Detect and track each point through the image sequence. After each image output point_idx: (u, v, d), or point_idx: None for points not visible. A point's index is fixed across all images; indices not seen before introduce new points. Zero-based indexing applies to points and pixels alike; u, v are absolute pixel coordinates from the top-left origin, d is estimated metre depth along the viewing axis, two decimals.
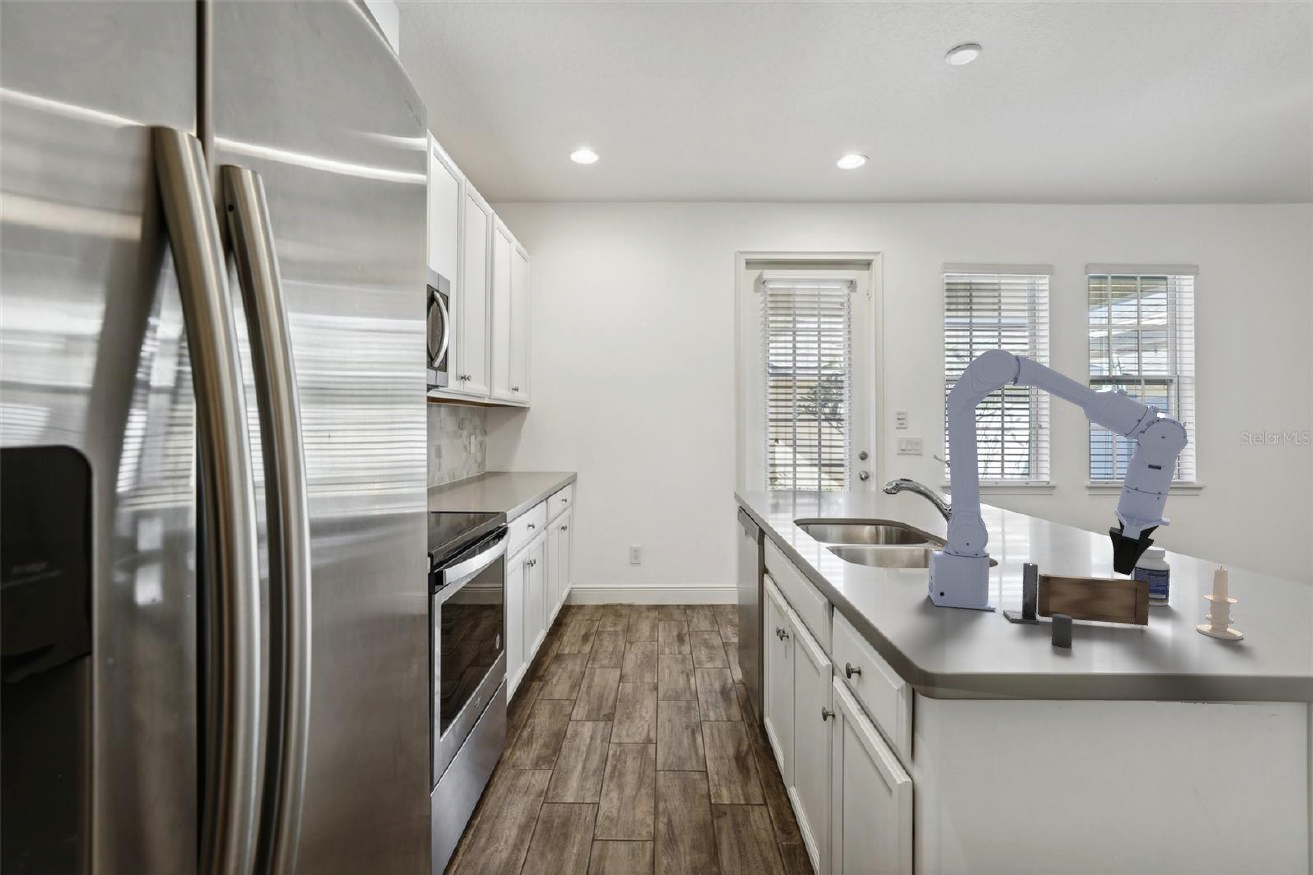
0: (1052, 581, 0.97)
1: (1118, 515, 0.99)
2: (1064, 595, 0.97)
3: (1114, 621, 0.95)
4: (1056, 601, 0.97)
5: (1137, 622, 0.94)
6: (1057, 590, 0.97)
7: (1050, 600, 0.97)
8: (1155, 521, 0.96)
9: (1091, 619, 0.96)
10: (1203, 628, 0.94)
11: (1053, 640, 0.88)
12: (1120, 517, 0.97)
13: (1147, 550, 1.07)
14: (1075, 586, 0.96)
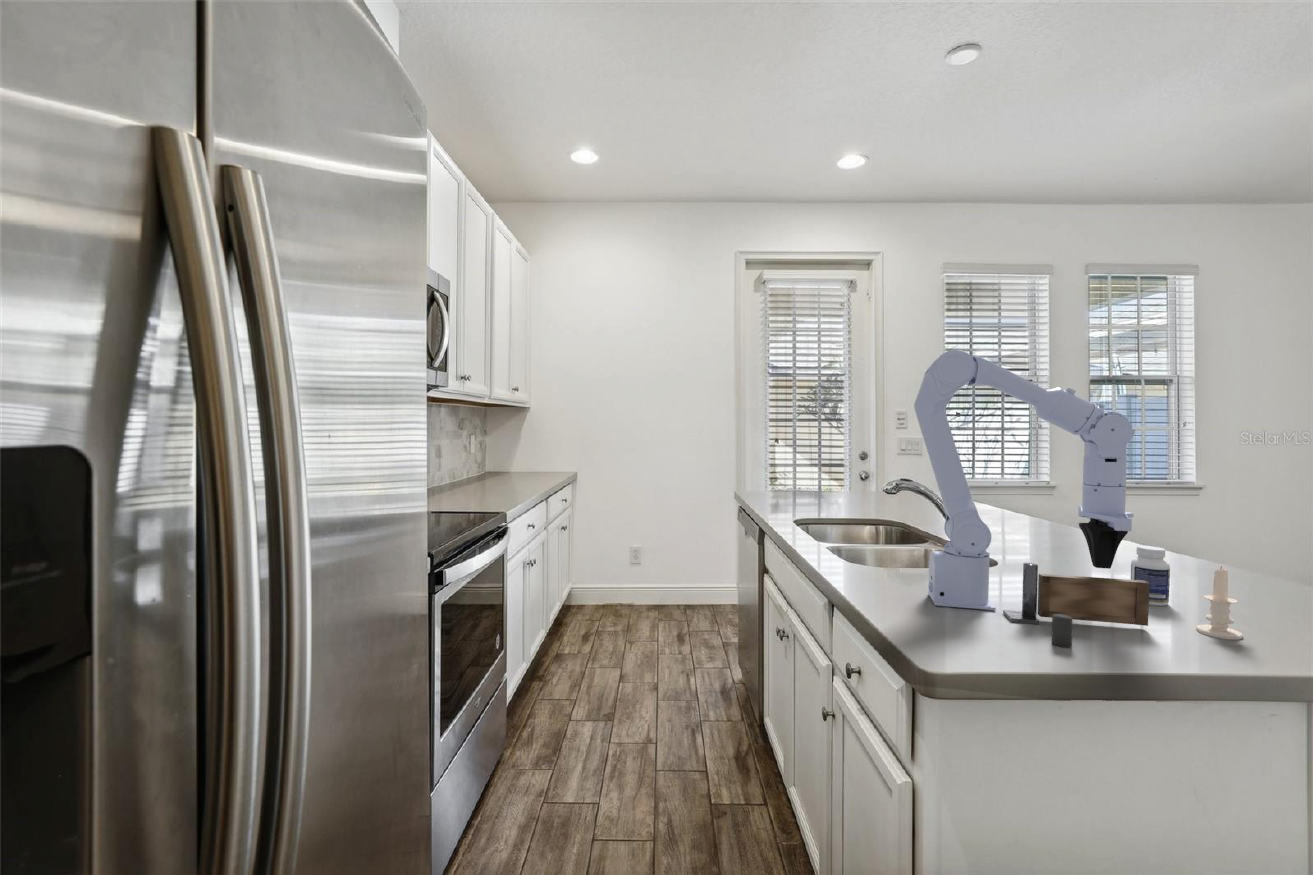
0: (1052, 581, 0.97)
1: (1092, 515, 0.99)
2: (1064, 595, 0.97)
3: (1114, 621, 0.95)
4: (1056, 601, 0.97)
5: (1137, 622, 0.94)
6: (1057, 590, 0.97)
7: (1050, 600, 0.97)
8: (1125, 514, 0.98)
9: (1091, 619, 0.96)
10: (1203, 628, 0.94)
11: (1053, 640, 0.88)
12: (1099, 516, 0.97)
13: (1147, 550, 1.07)
14: (1075, 586, 0.96)
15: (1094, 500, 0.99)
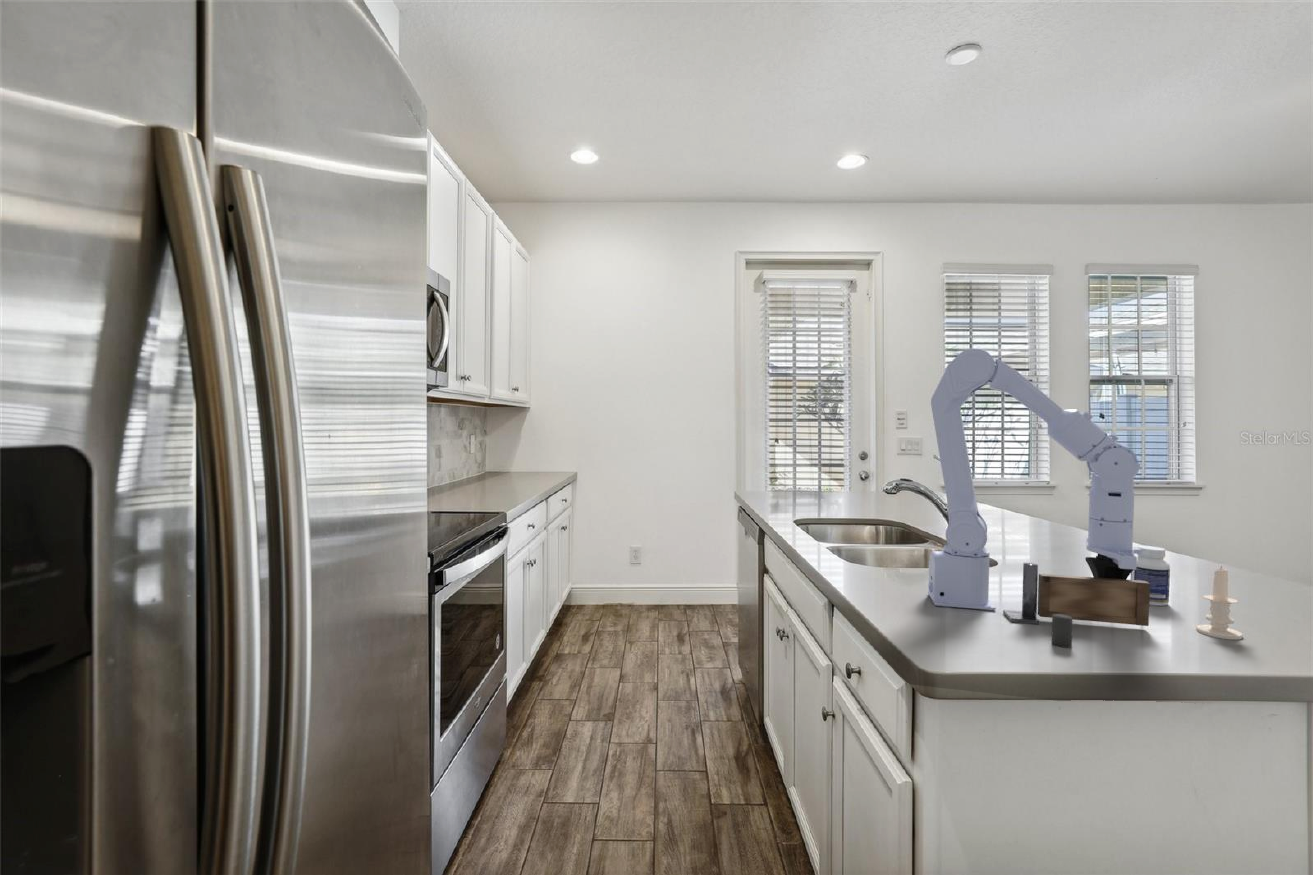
0: (1052, 581, 0.97)
1: (1097, 551, 0.96)
2: (1064, 595, 0.97)
3: (1114, 621, 0.95)
4: (1056, 601, 0.97)
5: (1138, 622, 0.94)
6: (1057, 590, 0.97)
7: (1050, 600, 0.97)
8: (1132, 550, 0.95)
9: (1091, 619, 0.96)
10: (1203, 628, 0.94)
11: (1053, 640, 0.88)
12: (1103, 551, 0.95)
13: (1147, 550, 1.07)
14: (1075, 586, 0.96)
15: (1099, 535, 0.96)
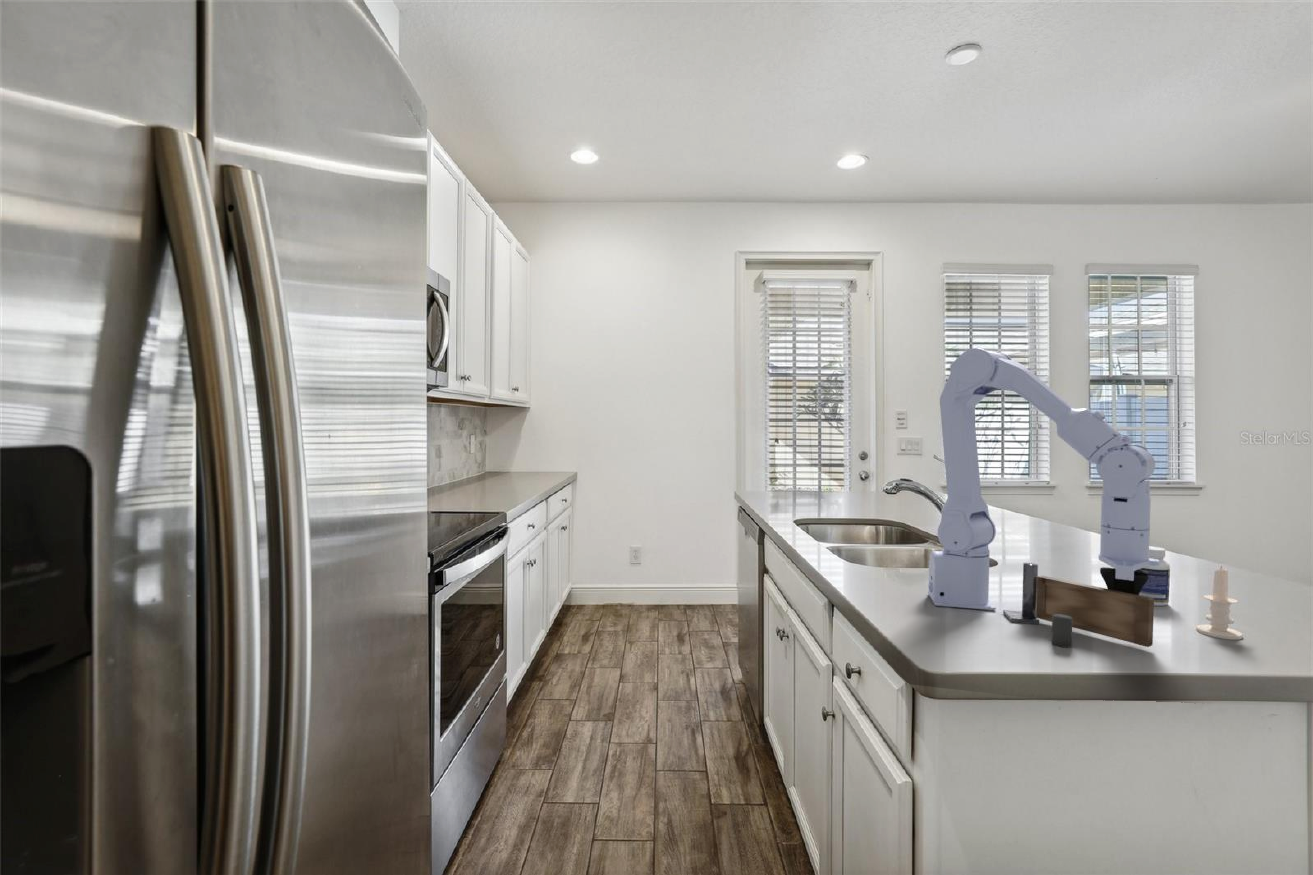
0: (1048, 583, 0.96)
1: (1103, 560, 0.90)
2: (1060, 600, 0.94)
3: (1111, 635, 0.89)
4: (1053, 605, 0.95)
5: (1136, 641, 0.86)
6: (1054, 594, 0.95)
7: (1046, 603, 0.96)
8: (1144, 561, 0.87)
9: (1086, 629, 0.91)
10: (1203, 628, 0.94)
11: (1053, 640, 0.88)
12: (1107, 561, 0.88)
13: None
14: (1071, 592, 0.93)
15: (1107, 543, 0.90)
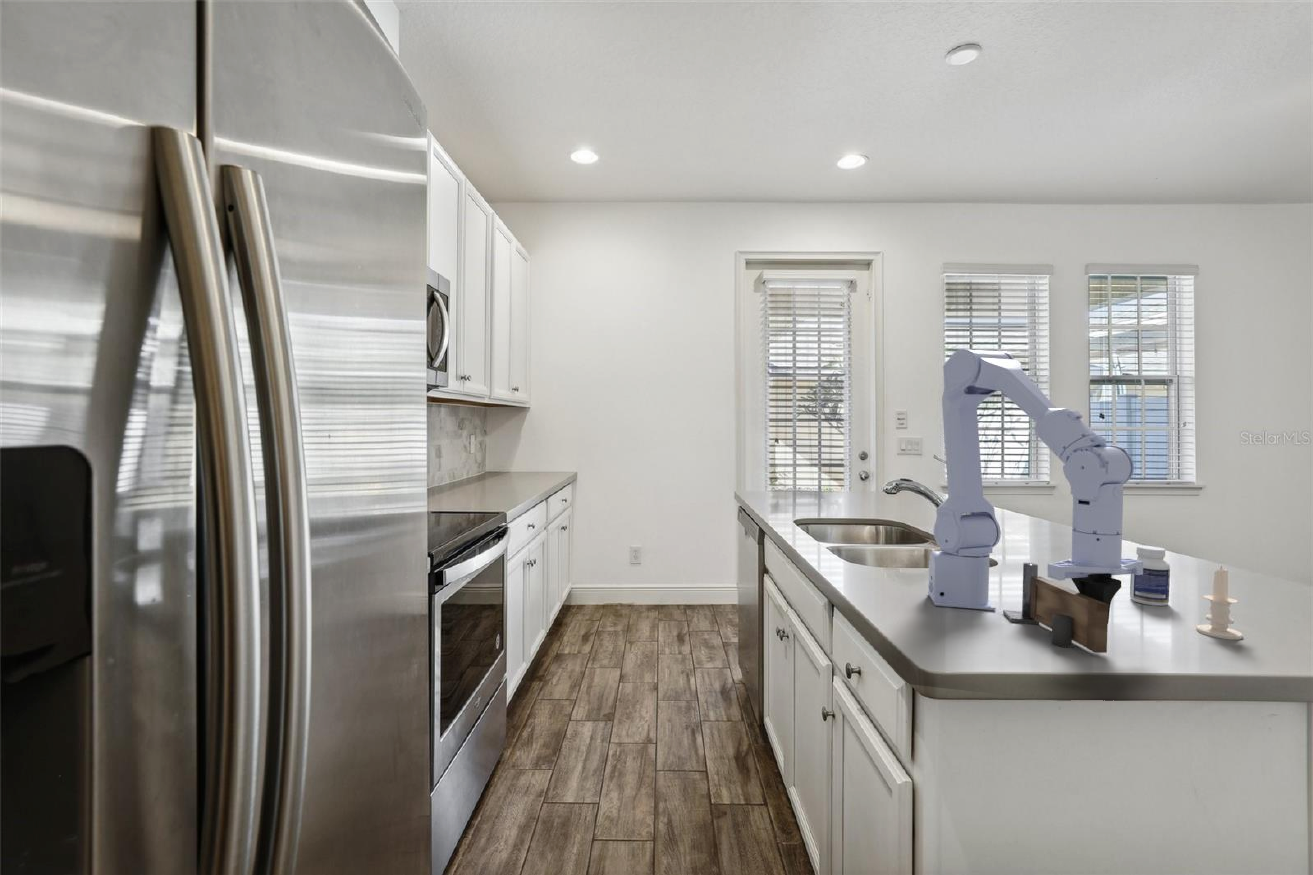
0: (1037, 583, 0.96)
1: (1067, 562, 0.88)
2: (1045, 600, 0.94)
3: (1073, 639, 0.87)
4: (1040, 605, 0.95)
5: (1087, 646, 0.84)
6: (1041, 594, 0.95)
7: (1036, 603, 0.96)
8: (1099, 567, 0.84)
9: None
10: (1203, 628, 0.94)
11: (1053, 640, 0.88)
12: (1063, 562, 0.87)
13: (1147, 550, 1.07)
14: (1051, 593, 0.92)
15: (1072, 545, 0.88)
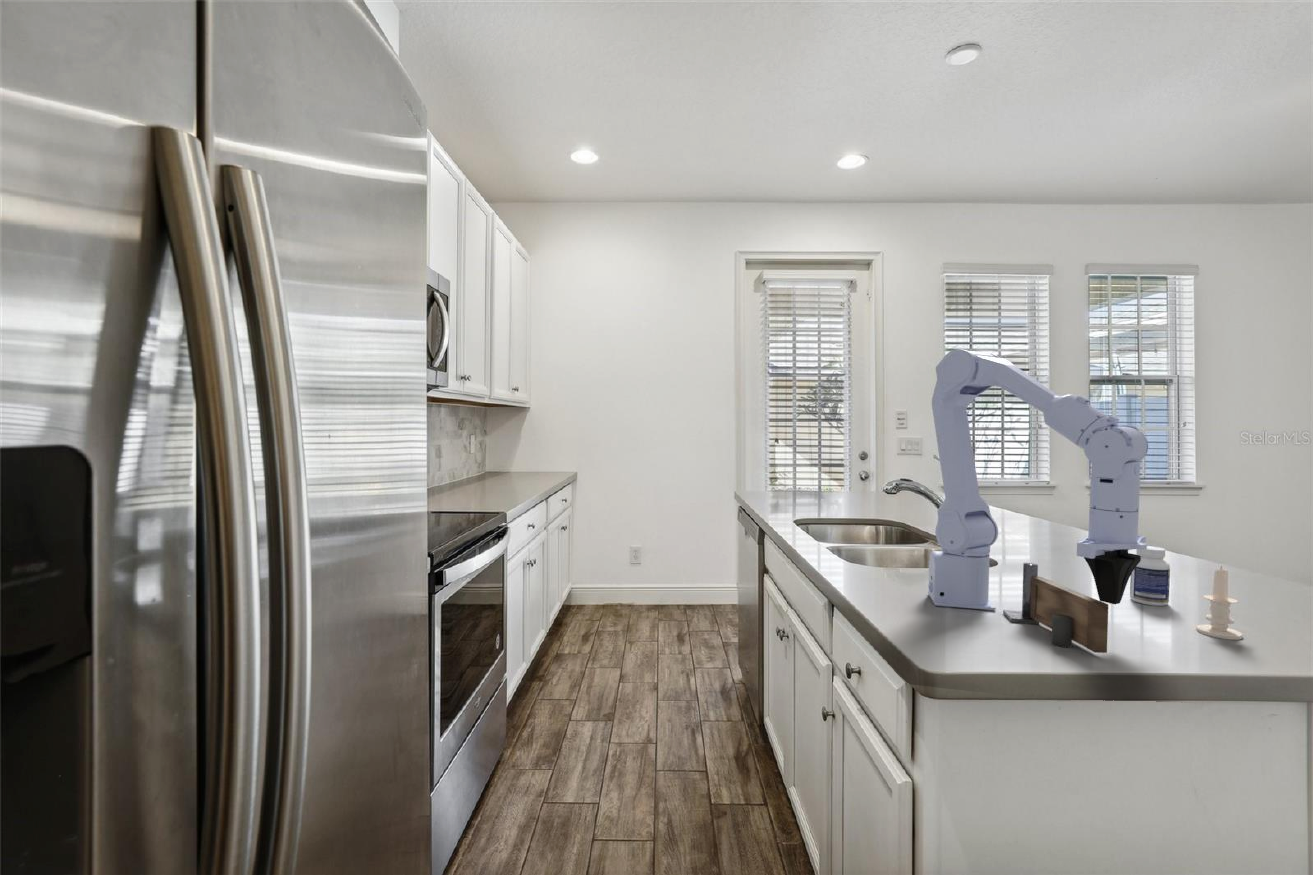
0: (1037, 583, 0.96)
1: None
2: (1045, 600, 0.94)
3: (1073, 639, 0.87)
4: (1040, 605, 0.95)
5: (1087, 646, 0.84)
6: (1041, 594, 0.95)
7: (1036, 603, 0.96)
8: (1123, 543, 0.86)
9: None
10: (1203, 628, 0.94)
11: (1053, 640, 0.88)
12: None
13: (1147, 550, 1.07)
14: (1051, 593, 0.92)
15: (1090, 524, 0.89)
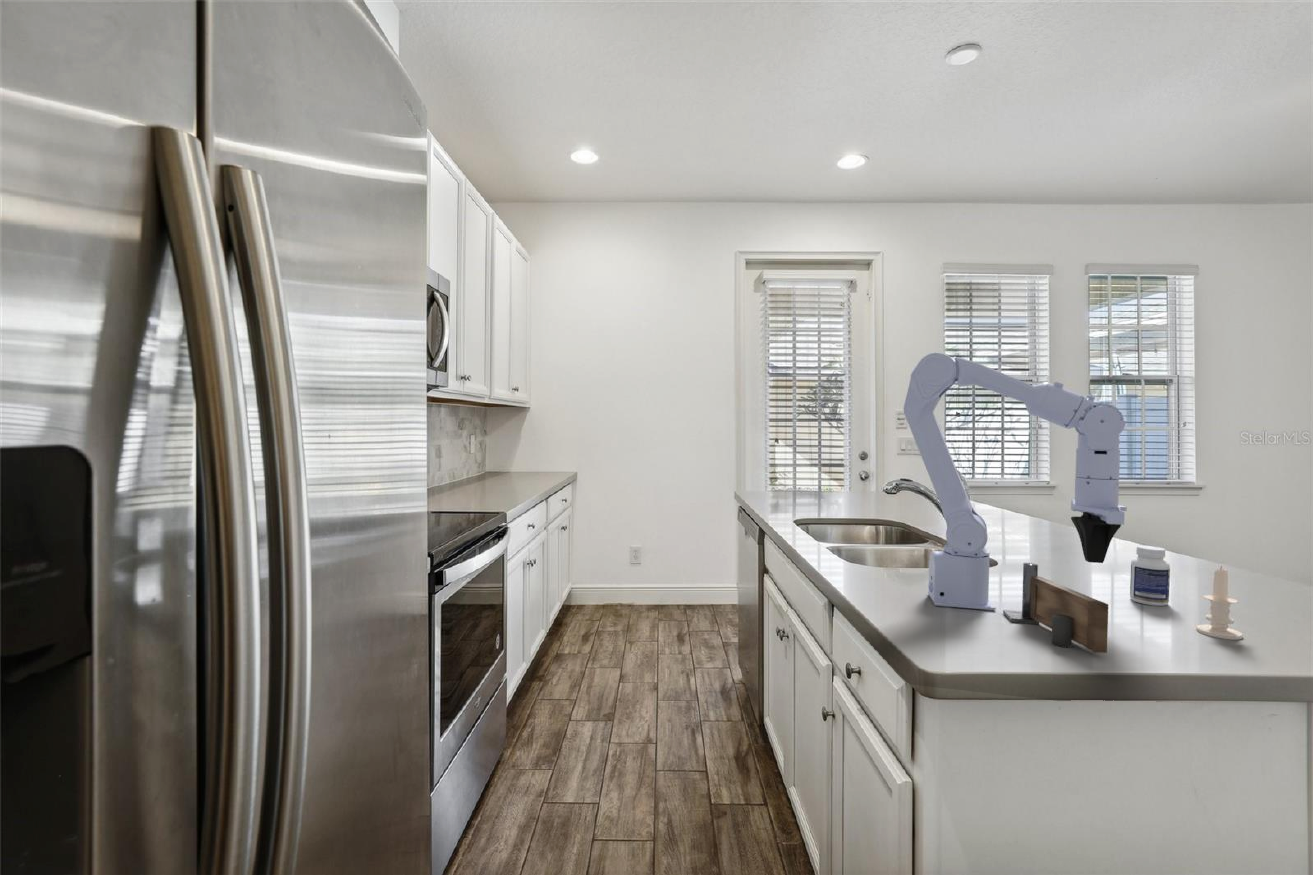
0: (1037, 583, 0.96)
1: (1085, 509, 0.97)
2: (1045, 600, 0.94)
3: (1073, 639, 0.87)
4: (1040, 605, 0.95)
5: (1087, 646, 0.84)
6: (1041, 594, 0.95)
7: (1036, 603, 0.96)
8: (1118, 507, 0.96)
9: None
10: (1203, 628, 0.94)
11: (1053, 640, 0.88)
12: (1091, 509, 0.96)
13: (1147, 550, 1.07)
14: (1051, 593, 0.92)
15: (1086, 493, 0.97)
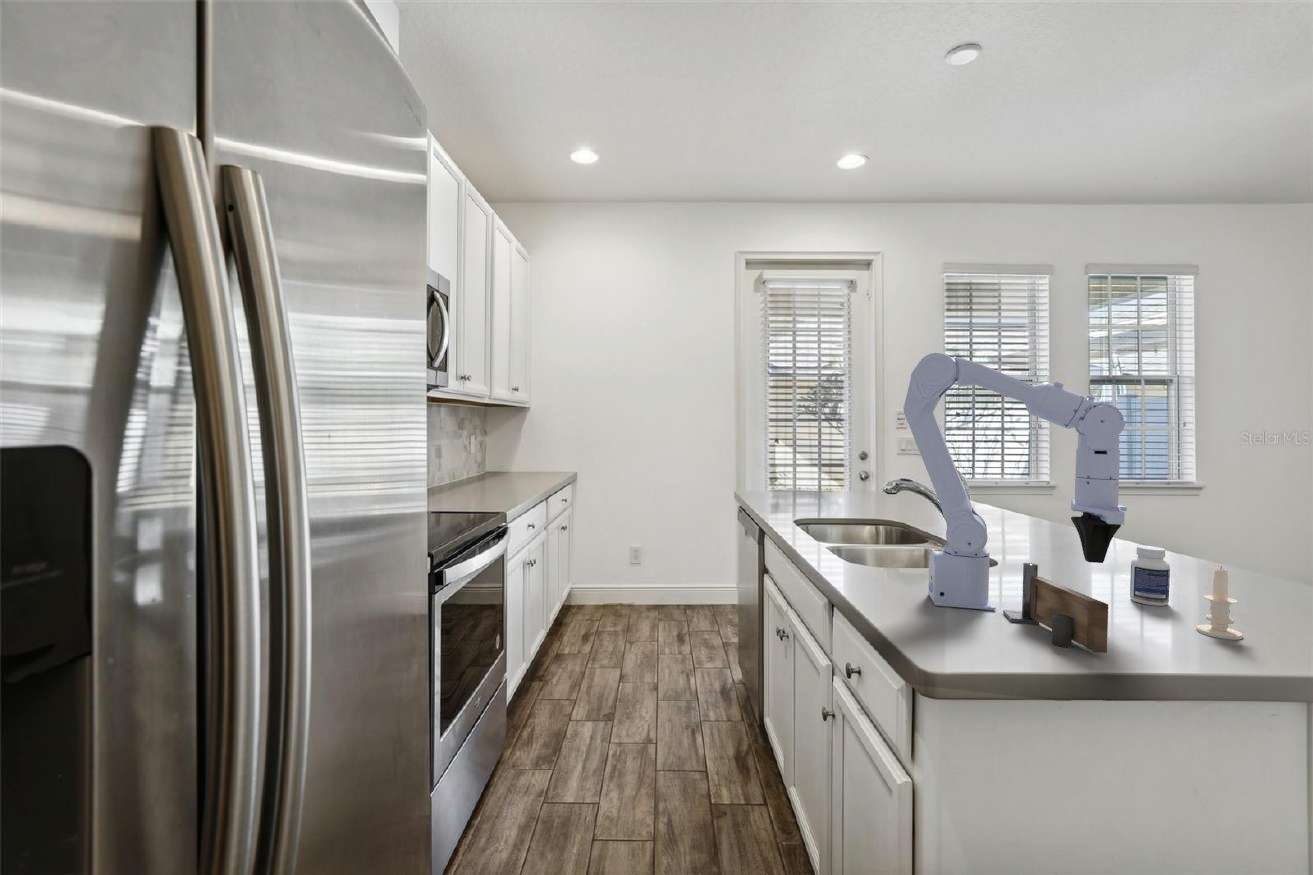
0: (1037, 583, 0.96)
1: (1085, 509, 0.97)
2: (1045, 600, 0.94)
3: (1073, 639, 0.87)
4: (1040, 605, 0.95)
5: (1087, 646, 0.84)
6: (1041, 594, 0.95)
7: (1036, 603, 0.96)
8: (1118, 507, 0.96)
9: None
10: (1203, 628, 0.94)
11: (1053, 640, 0.88)
12: (1091, 509, 0.96)
13: (1147, 550, 1.07)
14: (1051, 593, 0.92)
15: (1086, 493, 0.97)
